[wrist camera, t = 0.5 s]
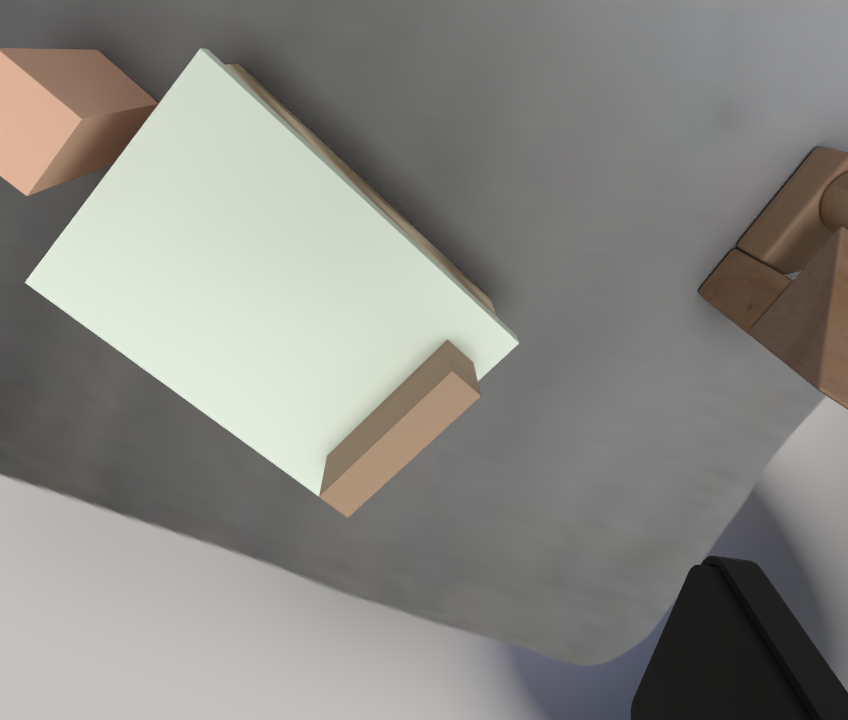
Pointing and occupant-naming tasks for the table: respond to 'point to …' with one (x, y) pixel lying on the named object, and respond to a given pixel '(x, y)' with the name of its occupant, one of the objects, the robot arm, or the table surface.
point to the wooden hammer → (814, 286)
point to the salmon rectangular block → (64, 115)
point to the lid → (272, 291)
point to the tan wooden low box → (359, 182)
